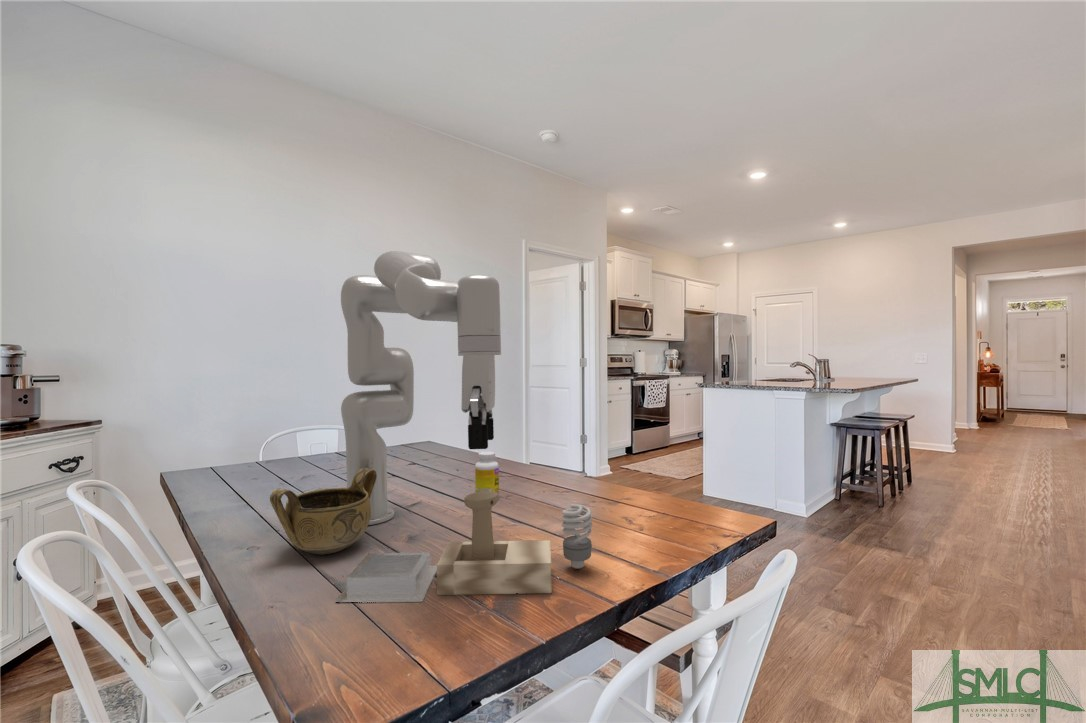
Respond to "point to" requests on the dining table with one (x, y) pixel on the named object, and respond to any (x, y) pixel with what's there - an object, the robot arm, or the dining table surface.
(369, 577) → the tray
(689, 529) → the dining table surface
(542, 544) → the block
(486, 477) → the supplement bottle
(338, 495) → the ceramic bowl
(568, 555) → the light bulb
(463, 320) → the robot arm
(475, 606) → the dining table surface
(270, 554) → the dining table surface
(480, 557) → the handle
